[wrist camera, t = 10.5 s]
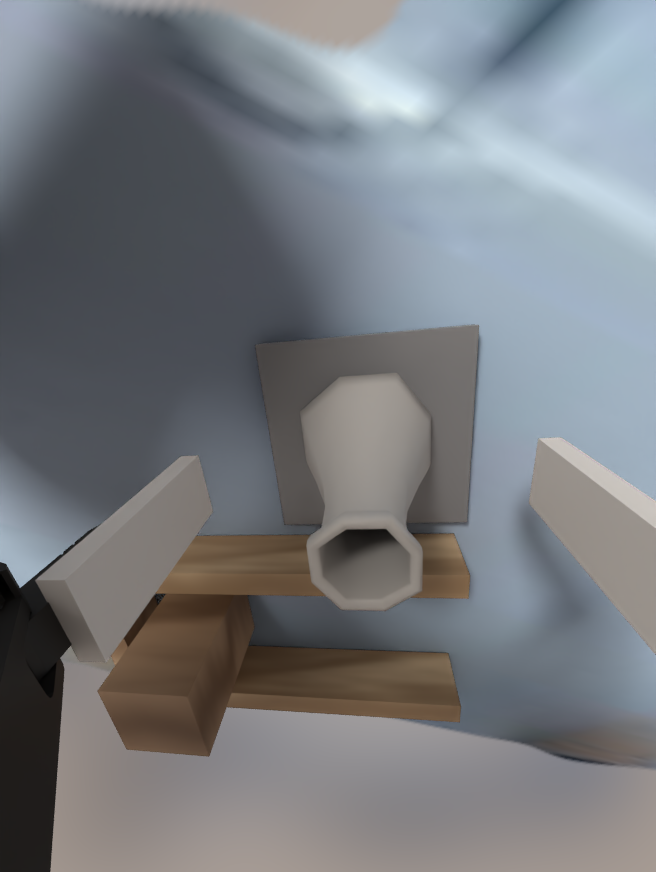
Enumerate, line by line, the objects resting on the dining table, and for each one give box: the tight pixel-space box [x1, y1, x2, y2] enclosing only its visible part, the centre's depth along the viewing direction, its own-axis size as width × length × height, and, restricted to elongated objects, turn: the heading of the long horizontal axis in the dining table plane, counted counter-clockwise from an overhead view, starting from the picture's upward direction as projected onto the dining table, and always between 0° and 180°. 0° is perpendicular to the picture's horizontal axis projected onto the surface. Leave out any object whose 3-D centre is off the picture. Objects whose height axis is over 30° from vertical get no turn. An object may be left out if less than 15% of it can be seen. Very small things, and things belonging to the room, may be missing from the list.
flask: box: [300, 373, 431, 611], centre depth 13 cm, size 7×7×10 cm
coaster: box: [255, 324, 479, 525], centre depth 19 cm, size 11×11×1 cm
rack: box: [111, 534, 470, 722], centre depth 23 cm, size 12×24×4 cm, turn 95°
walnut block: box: [98, 594, 255, 756], centre depth 21 cm, size 5×5×8 cm
